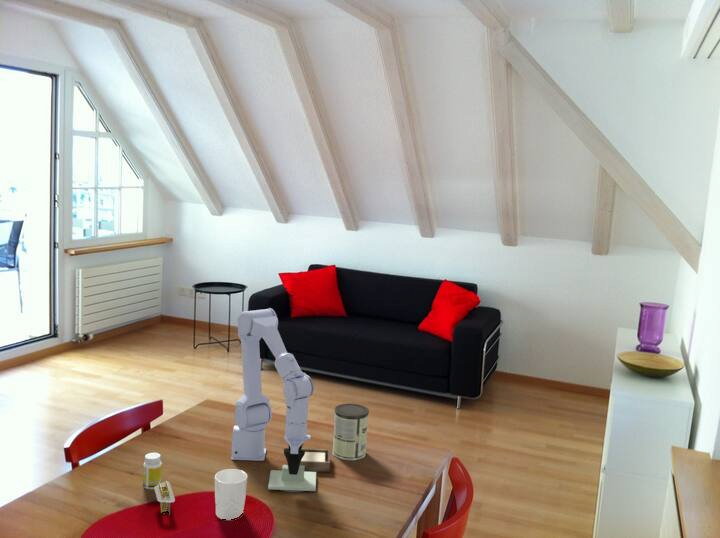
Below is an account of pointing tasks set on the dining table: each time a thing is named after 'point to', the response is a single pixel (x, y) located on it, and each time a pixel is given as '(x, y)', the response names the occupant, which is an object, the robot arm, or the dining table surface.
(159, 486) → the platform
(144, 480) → the supplement bottle
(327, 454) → the box
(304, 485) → the lid
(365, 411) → the coffee can
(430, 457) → the dining table surface
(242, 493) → the white cup
